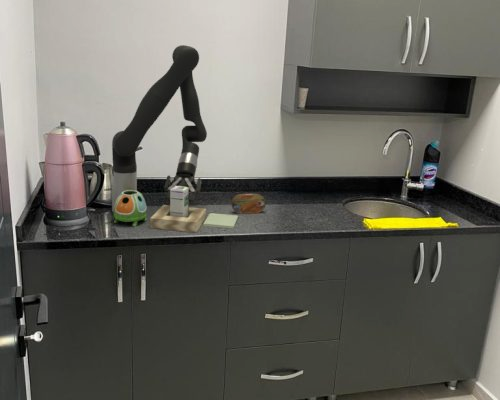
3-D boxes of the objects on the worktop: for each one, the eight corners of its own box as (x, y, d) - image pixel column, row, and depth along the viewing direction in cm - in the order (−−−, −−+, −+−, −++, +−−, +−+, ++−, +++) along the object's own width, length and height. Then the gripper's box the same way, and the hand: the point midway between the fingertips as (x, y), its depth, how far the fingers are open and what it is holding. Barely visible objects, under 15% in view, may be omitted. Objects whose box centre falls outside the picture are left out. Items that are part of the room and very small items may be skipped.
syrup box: (183, 226, 197) (184, 190, 193) (169, 224, 198) (170, 188, 194) (188, 221, 202) (189, 186, 198) (174, 219, 203) (175, 185, 199)
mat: (203, 225, 198) (203, 223, 198) (210, 215, 211) (210, 213, 211) (233, 228, 197) (233, 226, 197) (238, 217, 210) (238, 215, 210)
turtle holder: (155, 214, 208) (155, 186, 205) (138, 228, 191) (138, 198, 188) (126, 211, 210) (126, 183, 207) (108, 224, 193) (107, 195, 189)
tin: (231, 214, 215) (232, 195, 213) (230, 211, 218) (231, 193, 216) (265, 213, 219) (266, 194, 217) (263, 211, 222) (264, 192, 220)
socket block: (150, 228, 192) (150, 218, 191) (163, 214, 209) (163, 204, 208) (196, 232, 190) (196, 222, 189) (205, 218, 208) (206, 208, 206)
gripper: (168, 159, 202) (160, 194, 195) (203, 162, 201) (196, 197, 193) (171, 169, 209) (163, 203, 201) (205, 172, 208) (198, 206, 200)
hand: (179, 200), depth 197 cm, fingers open, 8 cm apart
